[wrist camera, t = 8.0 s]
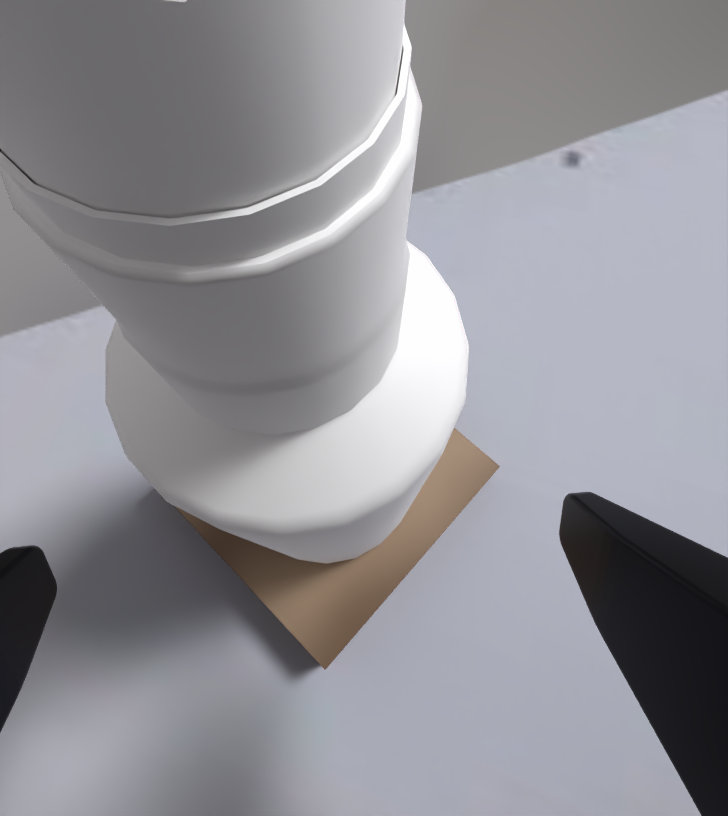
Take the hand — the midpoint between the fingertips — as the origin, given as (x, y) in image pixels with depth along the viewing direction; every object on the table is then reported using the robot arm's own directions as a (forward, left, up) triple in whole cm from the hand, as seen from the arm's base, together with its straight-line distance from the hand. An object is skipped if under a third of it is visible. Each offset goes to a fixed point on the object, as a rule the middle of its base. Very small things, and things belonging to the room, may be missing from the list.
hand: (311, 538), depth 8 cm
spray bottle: (+3, -2, -11) cm, 11 cm away
